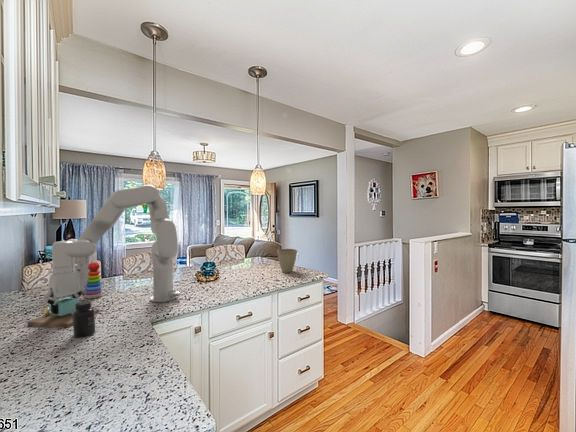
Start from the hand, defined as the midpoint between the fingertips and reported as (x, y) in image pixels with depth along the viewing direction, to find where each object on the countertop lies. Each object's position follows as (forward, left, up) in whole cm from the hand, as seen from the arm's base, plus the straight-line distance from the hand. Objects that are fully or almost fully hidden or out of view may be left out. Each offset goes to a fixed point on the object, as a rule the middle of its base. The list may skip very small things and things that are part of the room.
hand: (65, 310), depth 121 cm
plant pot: (-89, -94, -4) cm, 130 cm away
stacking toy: (+10, -28, -4) cm, 30 cm away
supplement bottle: (-20, +13, -4) cm, 24 cm away
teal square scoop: (+3, -1, -1) cm, 3 cm away
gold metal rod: (+7, +2, -2) cm, 7 cm away
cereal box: (+27, -43, -4) cm, 51 cm away
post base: (0, 0, -4) cm, 4 cm away
